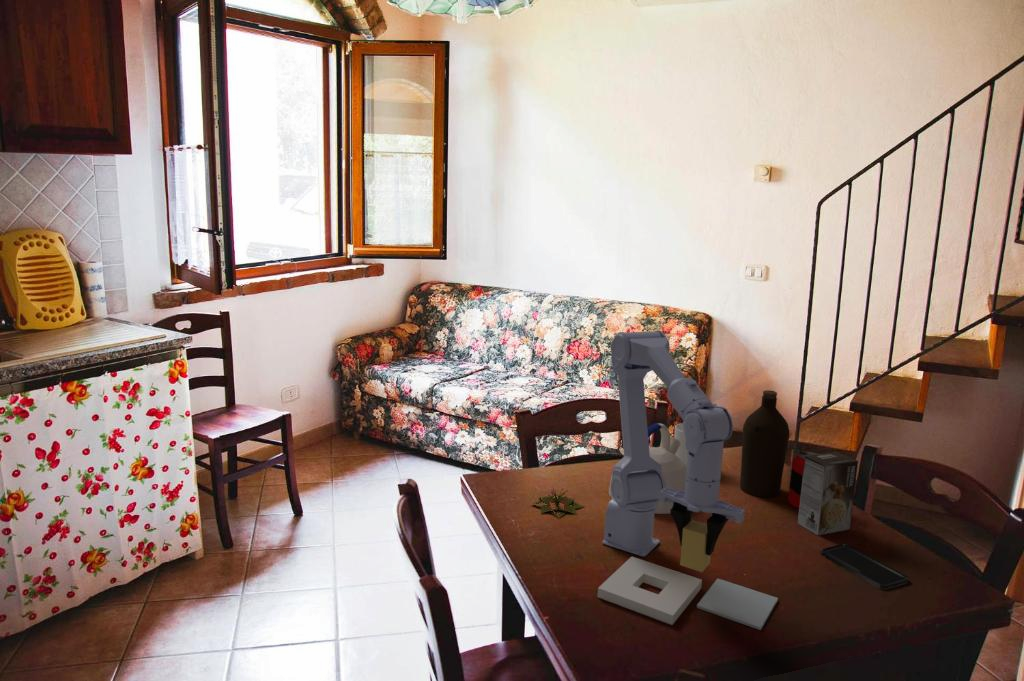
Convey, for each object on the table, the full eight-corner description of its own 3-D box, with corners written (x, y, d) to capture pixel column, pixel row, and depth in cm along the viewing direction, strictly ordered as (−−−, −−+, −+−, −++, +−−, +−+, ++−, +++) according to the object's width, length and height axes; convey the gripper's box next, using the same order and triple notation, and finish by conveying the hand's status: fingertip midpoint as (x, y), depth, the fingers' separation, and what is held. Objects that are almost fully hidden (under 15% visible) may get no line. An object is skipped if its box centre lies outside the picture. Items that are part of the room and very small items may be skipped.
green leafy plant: (555, 492, 172) (556, 475, 171) (594, 509, 164) (595, 490, 163) (520, 507, 164) (520, 488, 163) (559, 525, 156) (560, 505, 155)
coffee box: (828, 517, 162) (836, 450, 159) (850, 530, 156) (860, 460, 153) (796, 523, 159) (804, 455, 155) (817, 536, 153) (826, 465, 150)
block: (679, 565, 126) (683, 528, 124) (688, 556, 129) (691, 520, 128) (701, 572, 124) (705, 534, 122) (710, 563, 127) (713, 526, 125)
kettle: (710, 496, 172) (717, 424, 169) (667, 523, 157) (673, 445, 153) (638, 472, 185) (642, 405, 182) (591, 496, 170) (595, 423, 166)
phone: (845, 543, 149) (911, 578, 135) (844, 548, 149) (910, 583, 136) (817, 550, 146) (882, 586, 132) (817, 555, 146) (881, 592, 132)
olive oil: (785, 501, 170) (796, 400, 165) (738, 495, 173) (748, 395, 167) (779, 483, 180) (790, 388, 175) (735, 479, 183) (745, 384, 178)
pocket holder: (597, 597, 127) (598, 587, 127) (631, 564, 139) (631, 556, 138) (672, 625, 120) (673, 615, 119) (701, 588, 131) (702, 579, 131)
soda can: (800, 495, 174) (806, 448, 172) (829, 506, 168) (835, 458, 165) (780, 501, 170) (786, 453, 167) (808, 513, 164) (815, 464, 161)
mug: (701, 479, 182) (704, 439, 179) (665, 464, 191) (668, 426, 189) (722, 472, 186) (726, 433, 184) (686, 458, 196) (689, 421, 194)
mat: (696, 607, 125) (696, 605, 125) (717, 580, 134) (717, 578, 134) (760, 630, 119) (760, 627, 119) (777, 600, 128) (778, 598, 128)
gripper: (654, 472, 124) (649, 545, 127) (737, 494, 116) (730, 571, 119) (670, 461, 130) (665, 530, 132) (751, 481, 122) (743, 554, 124)
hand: (696, 548), depth 126 cm, fingers closed on block, 4 cm apart
